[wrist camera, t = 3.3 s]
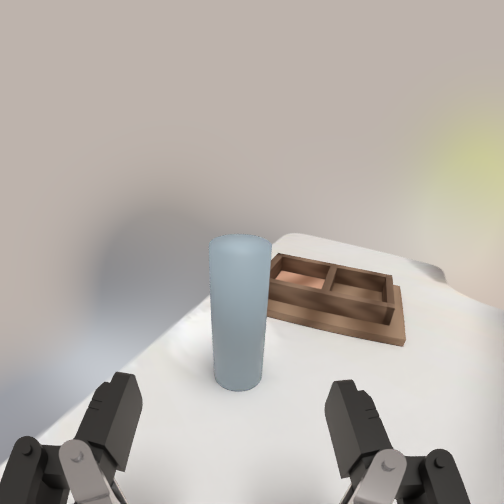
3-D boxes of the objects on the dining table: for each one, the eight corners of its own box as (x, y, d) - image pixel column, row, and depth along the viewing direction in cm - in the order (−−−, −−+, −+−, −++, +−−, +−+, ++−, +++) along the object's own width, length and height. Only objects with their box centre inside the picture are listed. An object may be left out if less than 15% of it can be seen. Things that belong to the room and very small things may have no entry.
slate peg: (253, 355, 27) (260, 232, 22) (267, 386, 24) (281, 253, 19) (210, 362, 26) (204, 235, 21) (220, 394, 22) (214, 259, 17)
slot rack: (398, 291, 40) (403, 271, 39) (402, 346, 28) (412, 322, 27) (269, 265, 48) (270, 245, 46) (230, 306, 36) (231, 282, 34)
